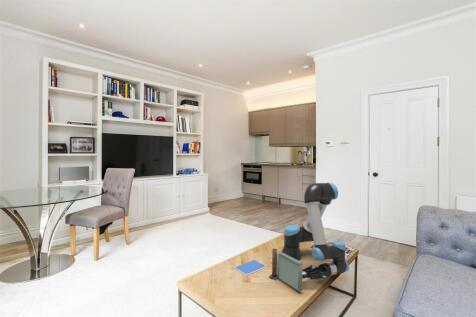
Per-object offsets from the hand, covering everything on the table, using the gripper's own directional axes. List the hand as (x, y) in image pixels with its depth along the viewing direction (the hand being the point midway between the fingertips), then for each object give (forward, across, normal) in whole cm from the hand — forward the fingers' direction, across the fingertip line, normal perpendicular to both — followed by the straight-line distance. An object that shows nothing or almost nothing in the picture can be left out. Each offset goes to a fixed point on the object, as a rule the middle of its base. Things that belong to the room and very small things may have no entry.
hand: (296, 276), depth 140 cm
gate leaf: (+2, +4, -6) cm, 8 cm away
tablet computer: (+13, +33, -8) cm, 36 cm away
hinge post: (+5, +16, -7) cm, 18 cm away
